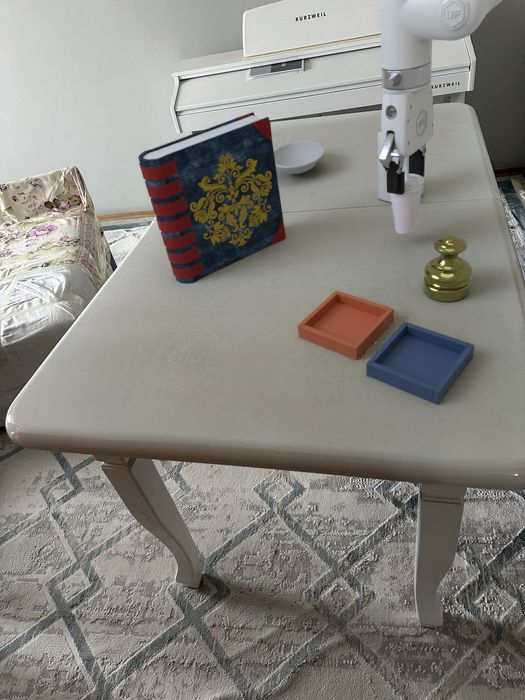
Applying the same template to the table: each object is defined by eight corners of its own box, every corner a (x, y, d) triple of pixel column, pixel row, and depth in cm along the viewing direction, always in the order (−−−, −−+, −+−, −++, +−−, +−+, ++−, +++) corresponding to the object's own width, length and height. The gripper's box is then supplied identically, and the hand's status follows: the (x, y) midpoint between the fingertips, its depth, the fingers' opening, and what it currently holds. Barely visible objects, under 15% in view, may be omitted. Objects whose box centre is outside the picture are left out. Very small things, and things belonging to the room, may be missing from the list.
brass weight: (426, 276, 92) (429, 225, 86) (471, 279, 89) (478, 227, 83) (419, 300, 87) (422, 248, 81) (466, 305, 85) (473, 251, 78)
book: (183, 288, 101) (146, 164, 85) (168, 274, 106) (130, 154, 90) (287, 238, 110) (271, 117, 94) (269, 228, 114) (251, 110, 98)
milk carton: (377, 199, 117) (377, 111, 105) (397, 187, 120) (399, 100, 108) (403, 207, 112) (406, 116, 100) (423, 194, 116) (428, 104, 103)
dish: (323, 184, 127) (322, 164, 124) (266, 188, 130) (263, 169, 127) (328, 156, 140) (327, 137, 137) (276, 160, 143) (274, 142, 140)
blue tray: (472, 357, 76) (474, 344, 74) (437, 404, 70) (439, 392, 68) (403, 332, 82) (404, 321, 80) (366, 375, 76) (366, 363, 75)
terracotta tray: (393, 320, 84) (393, 308, 83) (356, 360, 79) (356, 348, 77) (336, 301, 91) (336, 290, 89) (298, 336, 85) (297, 325, 83)
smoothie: (428, 223, 99) (430, 150, 90) (415, 239, 95) (416, 165, 86) (396, 219, 102) (395, 148, 93) (382, 235, 99) (380, 162, 90)
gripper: (400, 95, 75) (400, 209, 87) (453, 60, 84) (447, 167, 95) (356, 93, 79) (361, 202, 91) (411, 60, 88) (410, 163, 100)
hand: (405, 183), depth 93 cm, fingers closed on smoothie, 6 cm apart
